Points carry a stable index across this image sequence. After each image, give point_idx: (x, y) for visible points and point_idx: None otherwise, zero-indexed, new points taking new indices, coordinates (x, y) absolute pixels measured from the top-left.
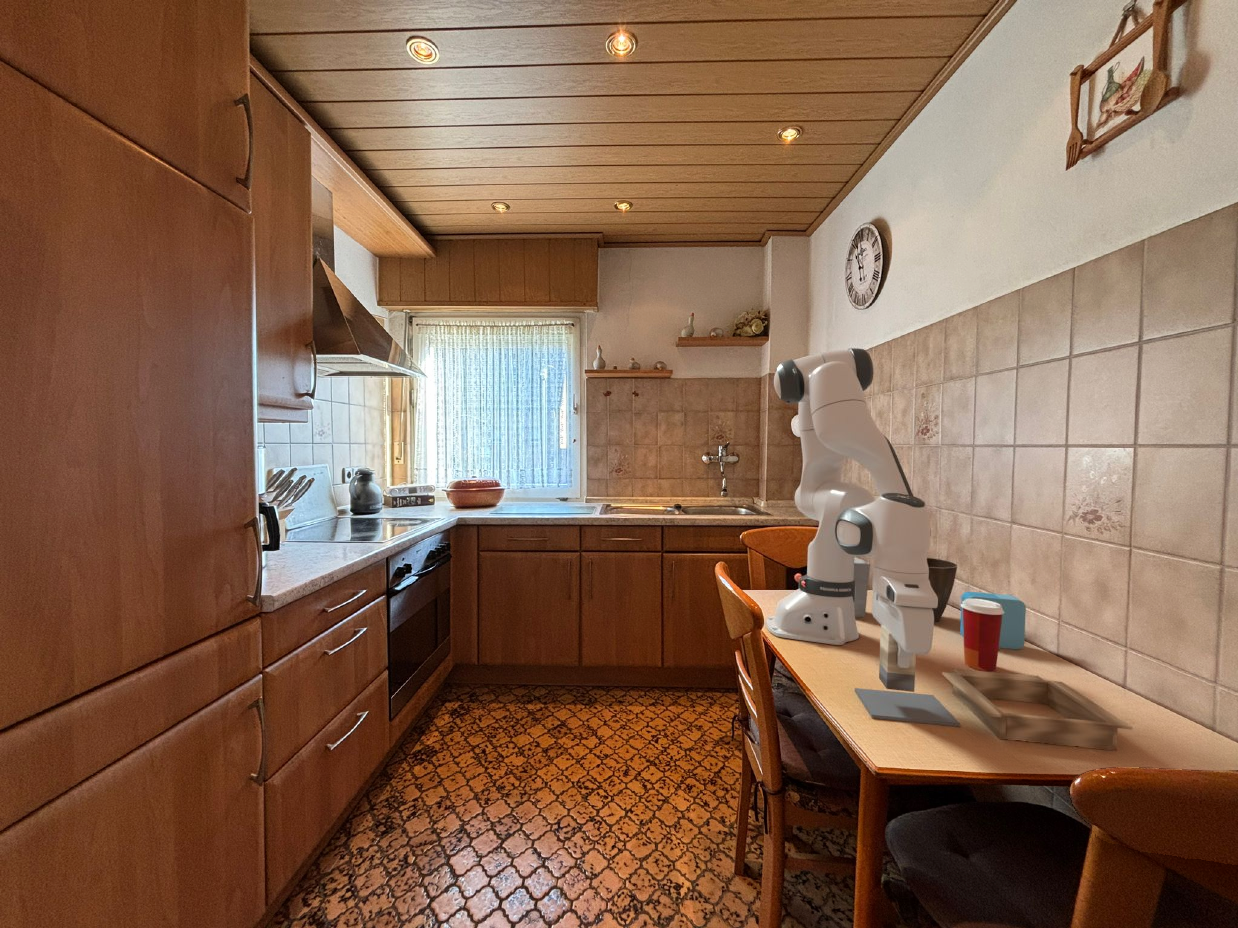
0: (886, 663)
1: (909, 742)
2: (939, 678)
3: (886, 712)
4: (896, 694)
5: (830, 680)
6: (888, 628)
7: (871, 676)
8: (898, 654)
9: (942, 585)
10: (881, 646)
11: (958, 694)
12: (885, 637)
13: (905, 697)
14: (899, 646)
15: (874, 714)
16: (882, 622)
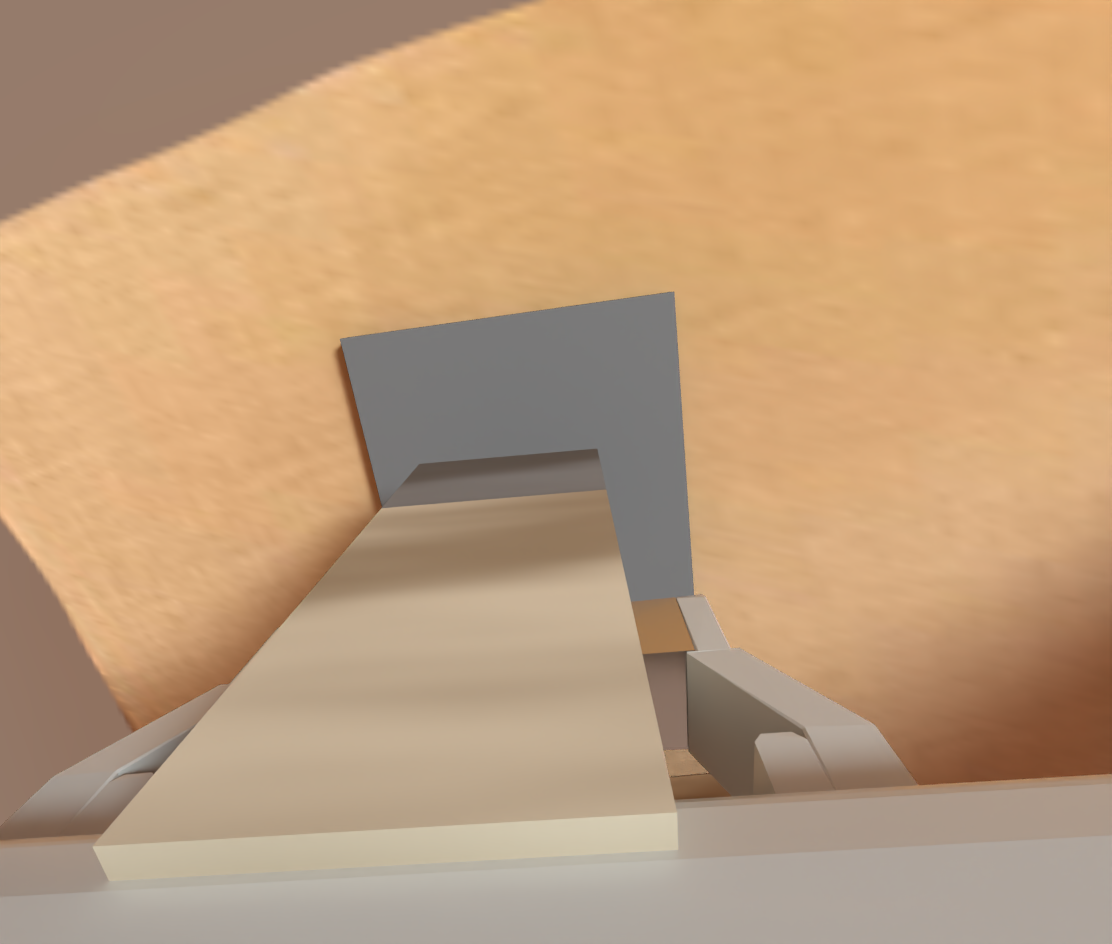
0: (389, 533)
1: (180, 471)
2: (941, 761)
3: (404, 424)
4: (653, 521)
5: (801, 141)
6: (257, 931)
7: (915, 434)
8: (207, 703)
9: None
10: (566, 572)
11: (723, 790)
12: (358, 707)
13: (629, 558)
14: (49, 807)
15: (349, 353)
16: (748, 896)
